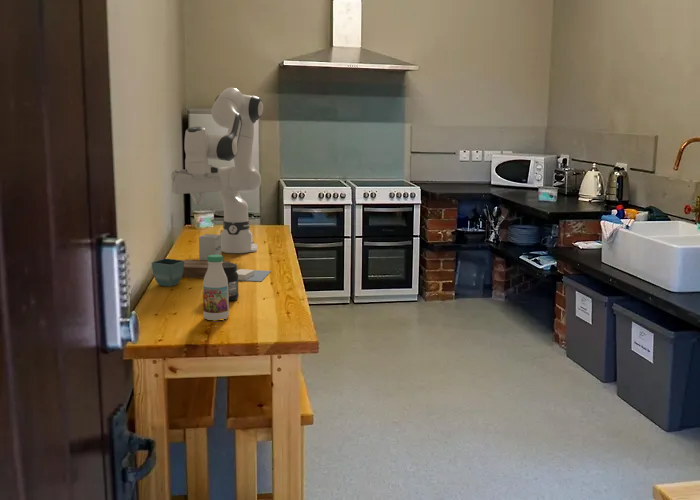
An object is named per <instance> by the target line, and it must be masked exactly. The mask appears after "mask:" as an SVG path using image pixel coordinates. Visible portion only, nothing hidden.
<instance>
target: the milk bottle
mask: <svg viewBox="0 0 700 500" xmlns="http://www.w3.org/2000/svg"><path fill="white" fill-rule="evenodd" d="M223 261H224V258H223V255H222V254H221V255H209V256H208V269H207V272H206V274H205V277H204V278H203V282H202V305H203V307H202V308H203V309H202V311H203V312H202V314H203V319H204V318H205V319H208V320H220V319H225V318H227V317H228V316H229V310H230V309H229V307H230V306H229V305H230V304H229V303H230V302H229V299H228V280H227V276H226V274H225V272H224V270H223V267H222V263H223ZM228 318H229V317H228ZM205 319H204V320H205Z"/></svg>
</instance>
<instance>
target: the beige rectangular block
mask: <svg viewBox="0 0 700 500" xmlns="http://www.w3.org/2000/svg"><path fill="white" fill-rule="evenodd" d="M254 270H255V269H246V268H240V269H238V270H237V271H236V272H237V273H238V275H239V277H238V279H239V280H246V279H248V278H250V277H252V276H254Z"/></svg>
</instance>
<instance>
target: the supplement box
mask: <svg viewBox="0 0 700 500" xmlns="http://www.w3.org/2000/svg"><path fill="white" fill-rule="evenodd" d="M209 255H222V251H221V235H220V234H212V233H211V234H209V233H206V234H203V235H200V236H198V260H208V256H209Z"/></svg>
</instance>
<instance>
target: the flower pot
mask: <svg viewBox="0 0 700 500" xmlns="http://www.w3.org/2000/svg"><path fill="white" fill-rule="evenodd" d="M184 261H185V260H183V259H174V258H173V259H172V258H161V259H159V260H156V261H153V262H152V261H151V269H152V274H153V275H152V276H153V277H154V280H155V281H156V283H157V285H158V286H164V287H173V286H177V285H178V284H179V282H180V281H181V279H182V278H183V277H182V275H183V269H184Z"/></svg>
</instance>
